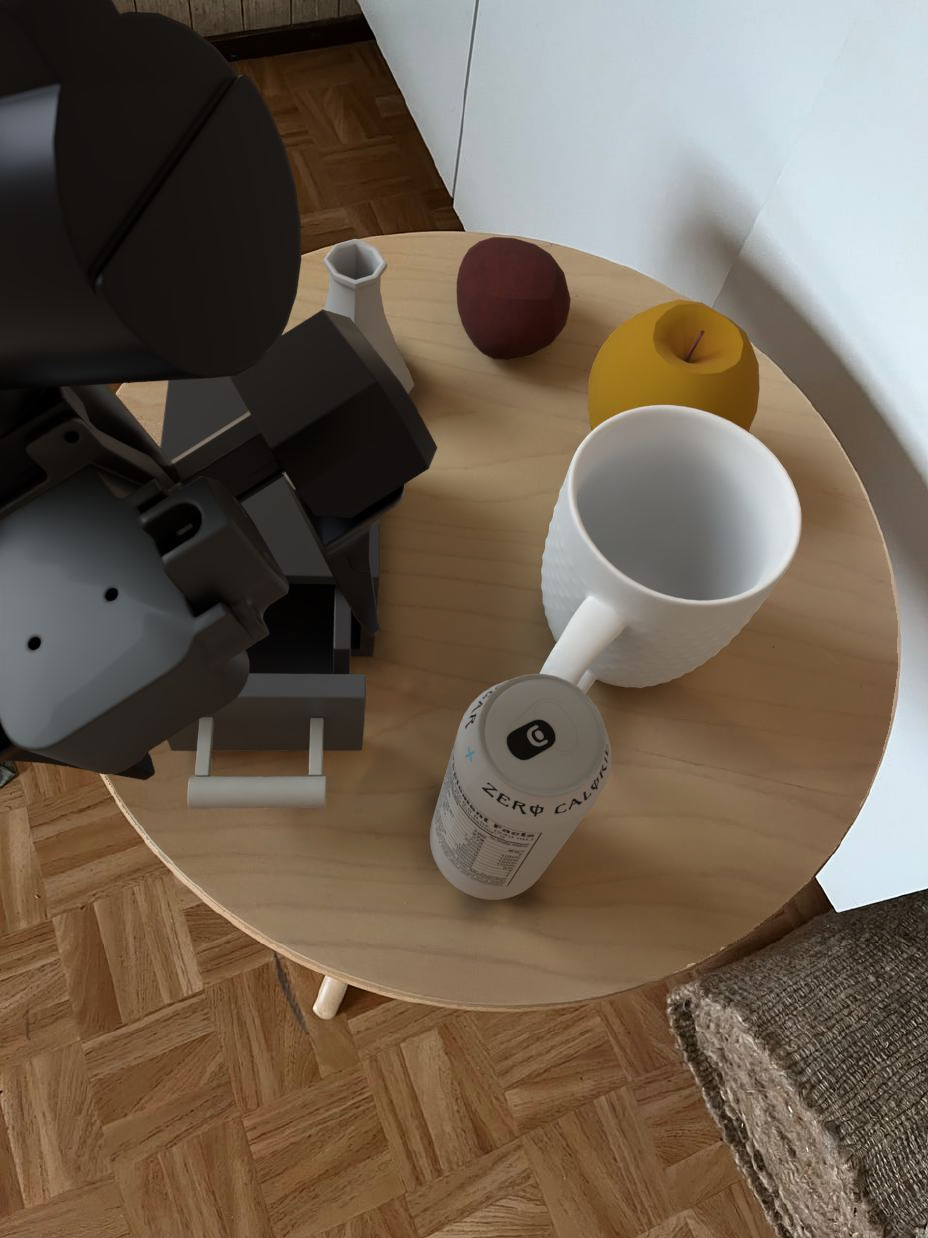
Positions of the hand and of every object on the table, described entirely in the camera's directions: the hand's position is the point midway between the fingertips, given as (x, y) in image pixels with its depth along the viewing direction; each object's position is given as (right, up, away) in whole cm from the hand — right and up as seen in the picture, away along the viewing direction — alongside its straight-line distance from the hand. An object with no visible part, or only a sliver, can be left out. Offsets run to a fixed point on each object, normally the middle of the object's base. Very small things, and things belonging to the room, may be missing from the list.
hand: (260, 696), depth 36 cm
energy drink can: (+8, -9, +15) cm, 19 cm away
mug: (+15, +1, +21) cm, 26 cm away
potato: (+10, +22, +31) cm, 39 cm away
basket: (-3, -1, +17) cm, 17 cm away
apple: (+18, +12, +28) cm, 35 cm away
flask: (0, +17, +28) cm, 33 cm away
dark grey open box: (-3, +6, +21) cm, 23 cm away
